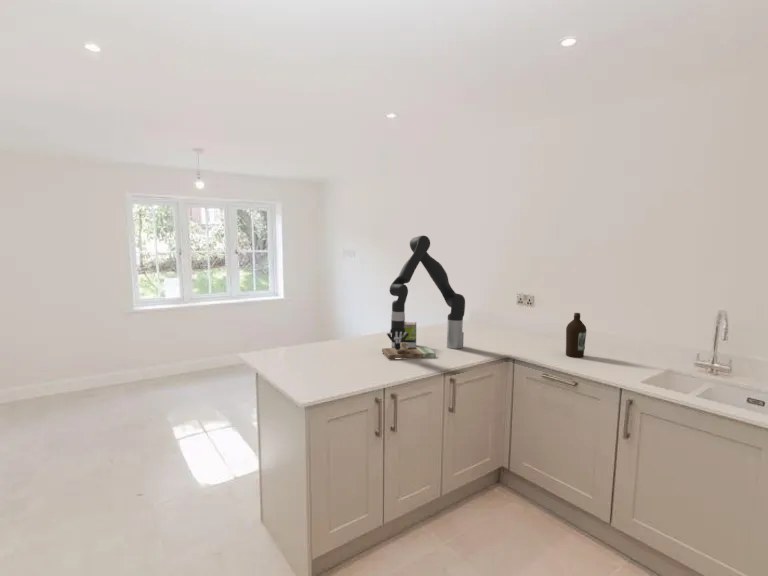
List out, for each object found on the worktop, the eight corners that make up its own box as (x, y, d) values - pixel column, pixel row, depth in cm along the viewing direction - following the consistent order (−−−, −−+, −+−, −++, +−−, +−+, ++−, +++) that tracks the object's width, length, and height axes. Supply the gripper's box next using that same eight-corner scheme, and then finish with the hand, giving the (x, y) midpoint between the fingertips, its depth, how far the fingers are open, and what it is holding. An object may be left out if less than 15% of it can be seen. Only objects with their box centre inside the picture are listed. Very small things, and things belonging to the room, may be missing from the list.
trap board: (426, 350, 251) (426, 346, 251) (435, 357, 237) (435, 352, 237) (382, 352, 245) (382, 348, 245) (388, 359, 230) (388, 355, 230)
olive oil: (560, 354, 246) (563, 312, 243) (571, 352, 252) (574, 311, 249) (577, 359, 237) (580, 315, 234) (588, 356, 243) (591, 313, 240)
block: (404, 349, 243) (407, 343, 243) (406, 351, 239) (409, 344, 239) (398, 347, 241) (401, 340, 241) (400, 348, 238) (403, 342, 238)
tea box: (416, 344, 266) (416, 321, 264) (415, 348, 256) (416, 324, 254) (392, 343, 267) (392, 320, 266) (391, 347, 257) (391, 323, 256)
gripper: (407, 317, 242) (406, 347, 244) (385, 318, 239) (384, 348, 241) (411, 320, 235) (410, 350, 237) (388, 320, 232) (387, 351, 234)
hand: (397, 349), depth 239 cm, fingers closed
